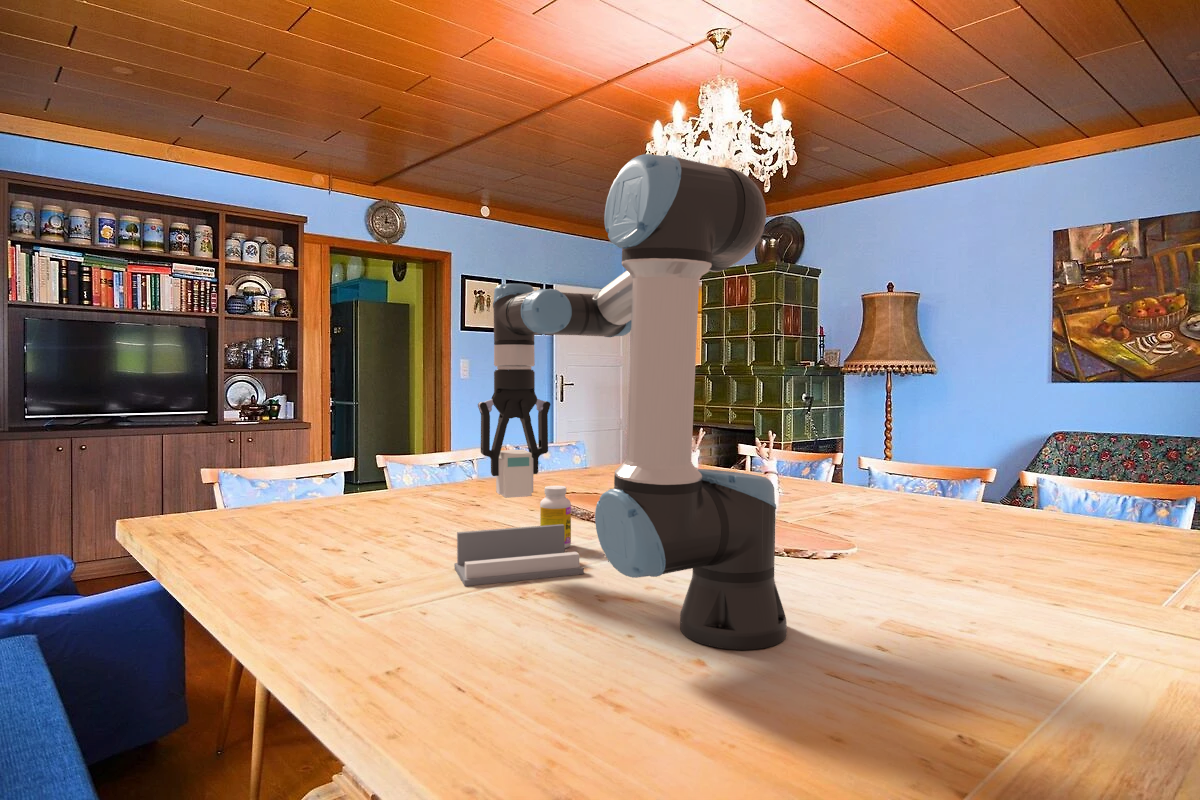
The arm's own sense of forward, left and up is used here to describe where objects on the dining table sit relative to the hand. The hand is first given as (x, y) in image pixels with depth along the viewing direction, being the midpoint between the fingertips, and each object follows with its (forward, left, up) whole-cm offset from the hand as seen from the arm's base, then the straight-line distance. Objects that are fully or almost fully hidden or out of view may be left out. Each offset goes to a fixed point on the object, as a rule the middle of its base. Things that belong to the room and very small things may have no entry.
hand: (514, 492), depth 134 cm
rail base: (0, -1, -15) cm, 15 cm away
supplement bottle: (+16, -13, -15) cm, 25 cm away
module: (0, 0, 0) cm, 0 cm away
